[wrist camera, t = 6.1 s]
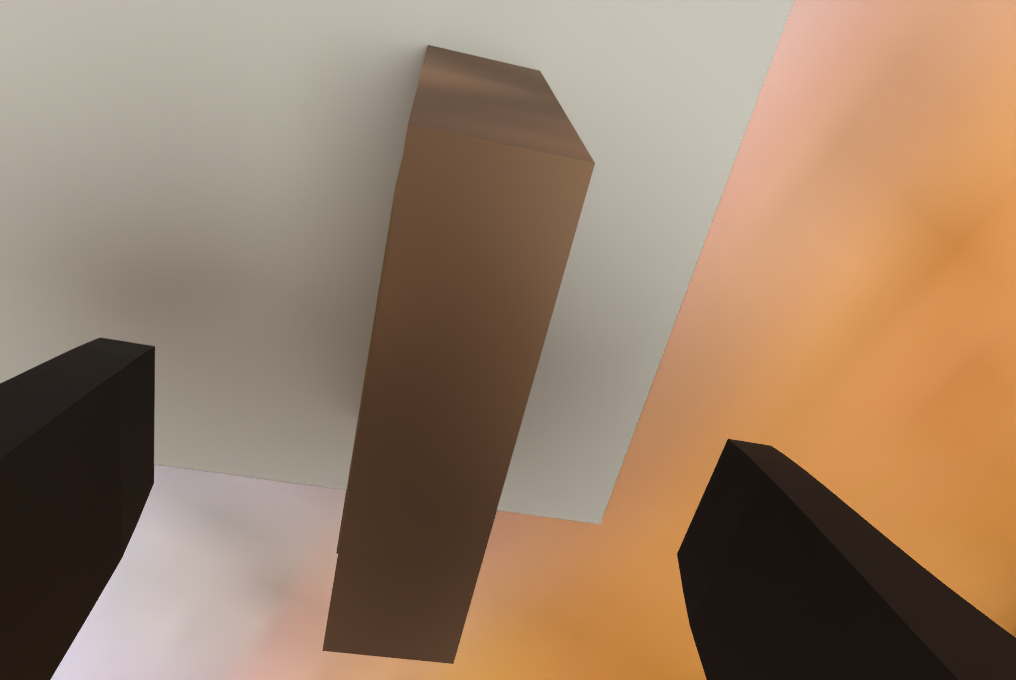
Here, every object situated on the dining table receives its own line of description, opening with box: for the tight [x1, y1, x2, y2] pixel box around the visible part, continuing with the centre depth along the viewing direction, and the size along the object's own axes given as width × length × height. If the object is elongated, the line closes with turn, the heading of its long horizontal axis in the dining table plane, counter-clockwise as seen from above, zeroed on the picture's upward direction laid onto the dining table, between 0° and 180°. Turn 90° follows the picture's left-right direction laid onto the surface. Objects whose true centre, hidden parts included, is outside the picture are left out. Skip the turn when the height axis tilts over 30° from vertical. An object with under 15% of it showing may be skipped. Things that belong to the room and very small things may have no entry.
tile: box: [323, 45, 595, 664], centre depth 12 cm, size 2×8×6 cm, turn 168°
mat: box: [0, 0, 794, 524], centre depth 14 cm, size 16×16×1 cm
